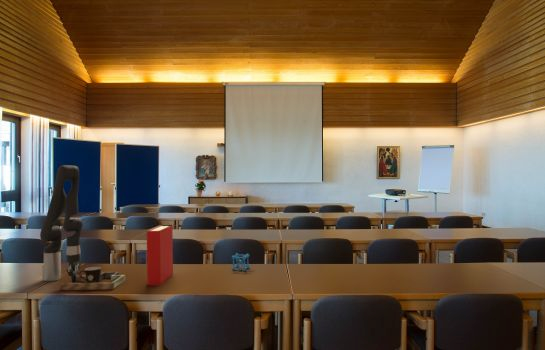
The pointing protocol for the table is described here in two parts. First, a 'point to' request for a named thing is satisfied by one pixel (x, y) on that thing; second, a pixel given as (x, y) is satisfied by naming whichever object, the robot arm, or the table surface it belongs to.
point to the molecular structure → (240, 262)
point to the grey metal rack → (91, 286)
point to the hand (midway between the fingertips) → (73, 282)
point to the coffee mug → (92, 274)
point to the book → (159, 254)
